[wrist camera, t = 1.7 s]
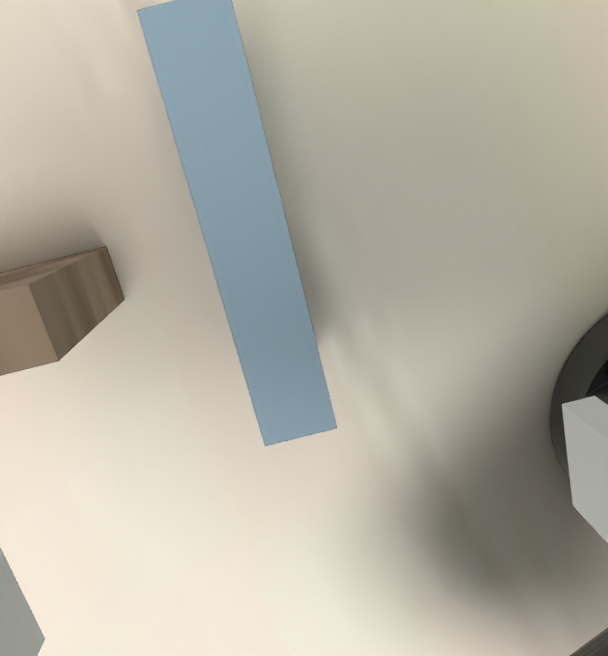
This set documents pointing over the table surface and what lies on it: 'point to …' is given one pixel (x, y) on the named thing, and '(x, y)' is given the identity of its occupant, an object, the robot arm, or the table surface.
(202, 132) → the long blue bar
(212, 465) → the table surface
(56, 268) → the slotted beam
